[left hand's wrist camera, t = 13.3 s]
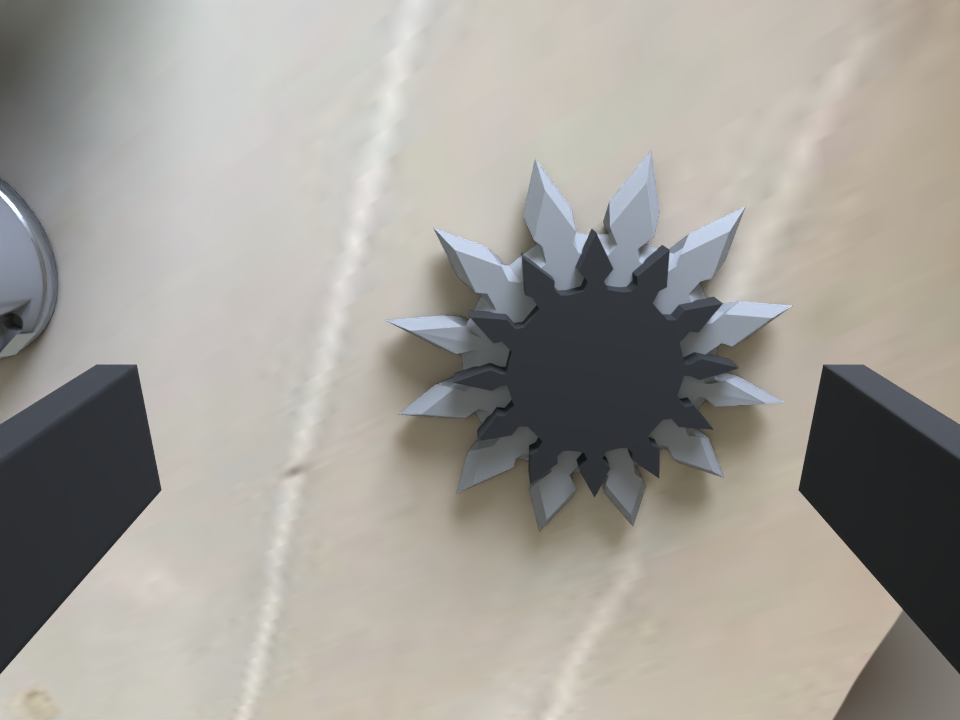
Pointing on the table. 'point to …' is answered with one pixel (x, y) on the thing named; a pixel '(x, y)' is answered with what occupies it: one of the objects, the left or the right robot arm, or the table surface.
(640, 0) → the table surface
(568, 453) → the decorative piece
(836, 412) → the left robot arm
